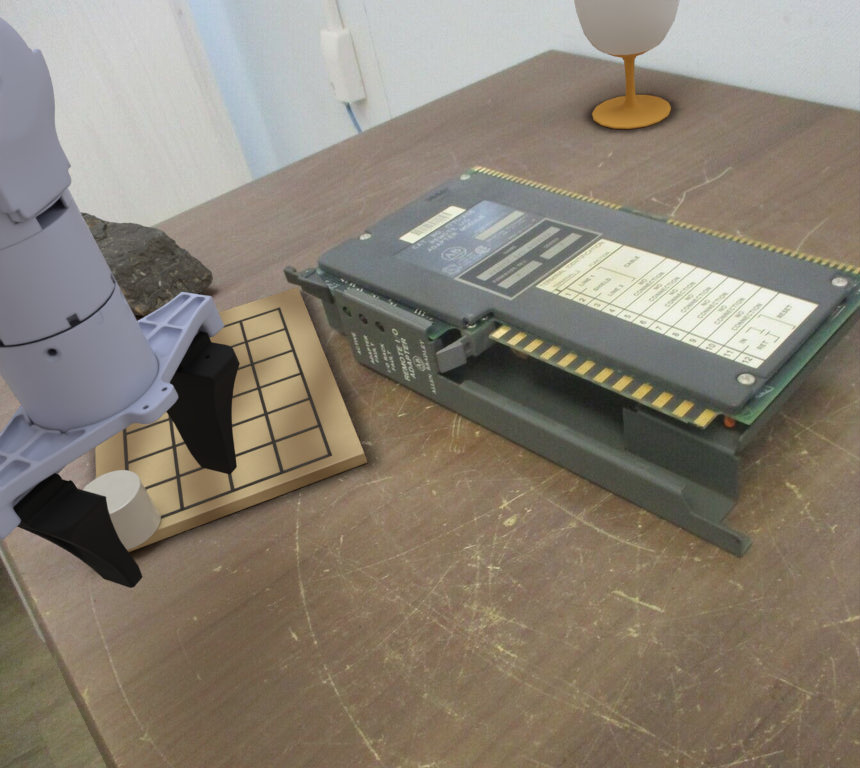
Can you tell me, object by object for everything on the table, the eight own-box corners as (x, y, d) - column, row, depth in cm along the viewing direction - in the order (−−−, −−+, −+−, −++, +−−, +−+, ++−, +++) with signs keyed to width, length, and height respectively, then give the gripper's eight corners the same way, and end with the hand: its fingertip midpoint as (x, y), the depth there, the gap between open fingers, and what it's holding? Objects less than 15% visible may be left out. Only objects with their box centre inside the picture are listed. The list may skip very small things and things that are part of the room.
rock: (-4, 289, 74) (47, 208, 80) (46, 335, 80) (91, 257, 85) (159, 286, 70) (202, 201, 75) (201, 335, 75) (238, 252, 81)
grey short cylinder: (100, 561, 53) (75, 526, 51) (98, 518, 56) (74, 484, 54) (164, 536, 54) (142, 501, 52) (158, 496, 57) (137, 461, 55)
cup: (576, 137, 93) (562, -26, 82) (584, 95, 102) (572, -57, 91) (683, 131, 91) (684, -38, 80) (682, 88, 100) (682, -69, 89)
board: (103, 562, 54) (96, 551, 54) (98, 361, 72) (92, 352, 71) (367, 462, 58) (364, 451, 57) (301, 295, 76) (297, 285, 75)
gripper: (-33, 442, 28) (136, 661, 37) (229, 223, 38) (313, 437, 47) (-162, 407, 31) (24, 619, 40) (114, 211, 41) (214, 415, 49)
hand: (174, 519), depth 43 cm, fingers open, 7 cm apart
